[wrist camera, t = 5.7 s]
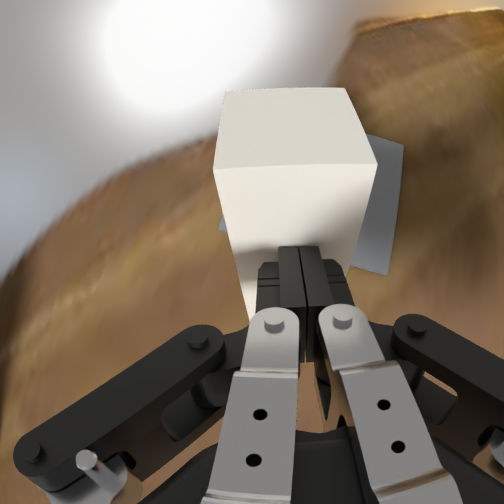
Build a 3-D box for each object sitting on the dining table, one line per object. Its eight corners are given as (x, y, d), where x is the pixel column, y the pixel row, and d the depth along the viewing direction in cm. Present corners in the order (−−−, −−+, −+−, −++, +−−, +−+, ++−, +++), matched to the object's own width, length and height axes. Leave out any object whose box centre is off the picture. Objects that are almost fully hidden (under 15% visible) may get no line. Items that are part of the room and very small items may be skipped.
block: (253, 270, 22) (224, 91, 11) (320, 267, 21) (344, 88, 11) (253, 334, 19) (212, 169, 9) (327, 331, 19) (377, 164, 8)
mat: (262, 112, 26) (262, 109, 25) (402, 147, 24) (403, 144, 23) (219, 230, 23) (218, 228, 22) (385, 275, 21) (387, 274, 20)
